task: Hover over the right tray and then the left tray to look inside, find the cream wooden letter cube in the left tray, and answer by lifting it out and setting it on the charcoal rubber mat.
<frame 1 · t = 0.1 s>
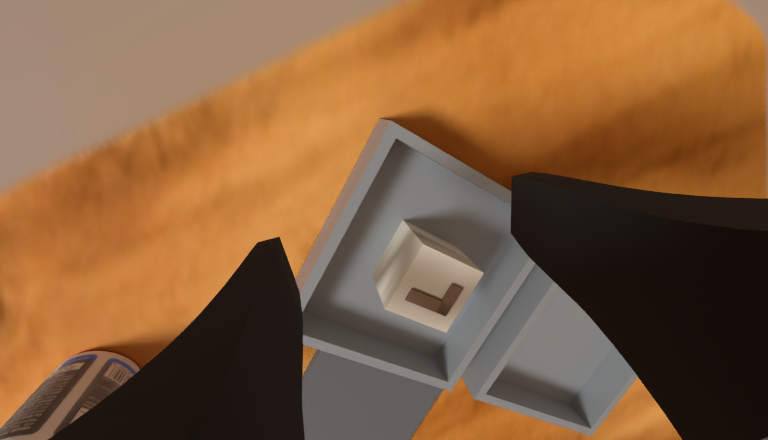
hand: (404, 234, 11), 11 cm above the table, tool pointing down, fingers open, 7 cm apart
tray 2: (411, 255, 23), on the table
letter cube: (413, 259, 22), point 1 cm above the table, touching tray 2
tray 1: (560, 323, 27), on the table
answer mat: (355, 411, 26), on the table
pill bottle: (104, 378, 21), on the table
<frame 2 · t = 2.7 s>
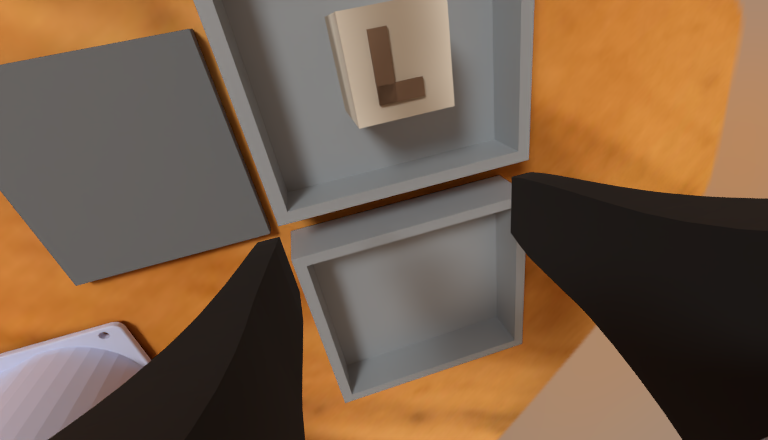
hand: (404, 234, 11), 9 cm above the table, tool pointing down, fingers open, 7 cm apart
tray 2: (374, 56, 17), on the table
letter cube: (377, 57, 16), point 1 cm above the table, touching tray 2
tray 1: (412, 279, 24), on the table
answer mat: (131, 167, 17), on the table
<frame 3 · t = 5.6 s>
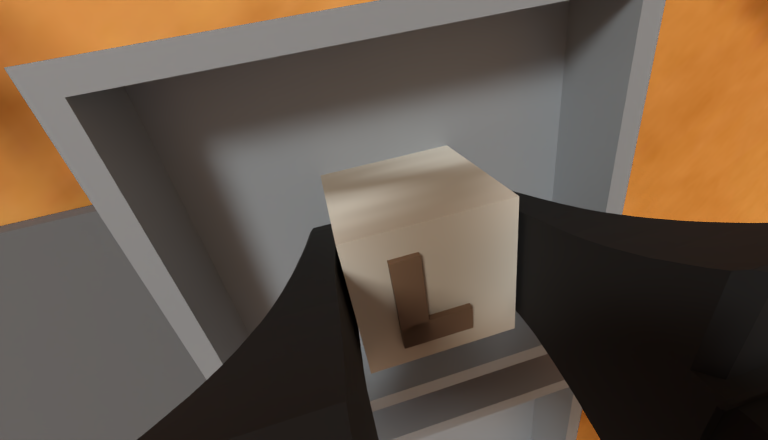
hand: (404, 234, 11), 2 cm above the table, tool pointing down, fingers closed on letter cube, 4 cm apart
tray 2: (390, 208, 12), on the table
letter cube: (394, 216, 12), point 1 cm above the table, touching gripper, tray 2
tray 1: (428, 432, 19), on the table
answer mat: (46, 365, 12), on the table
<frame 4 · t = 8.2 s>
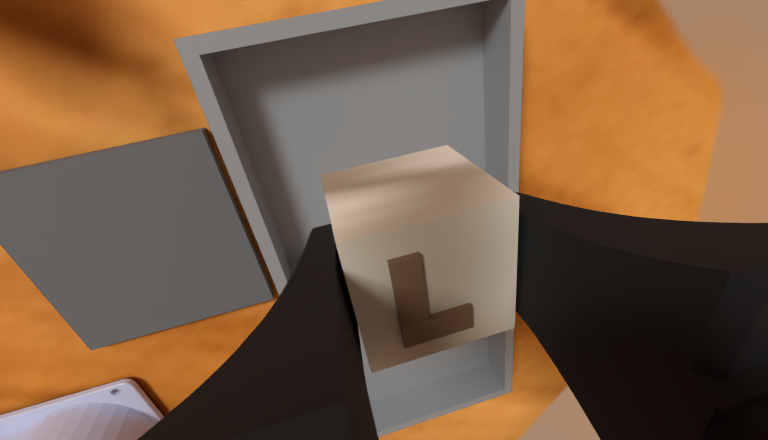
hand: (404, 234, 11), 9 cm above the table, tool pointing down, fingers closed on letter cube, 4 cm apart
tray 2: (373, 143, 18), on the table
letter cube: (394, 216, 12), point 8 cm above the table, touching gripper
tray 1: (407, 331, 25), on the table
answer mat: (144, 246, 18), on the table
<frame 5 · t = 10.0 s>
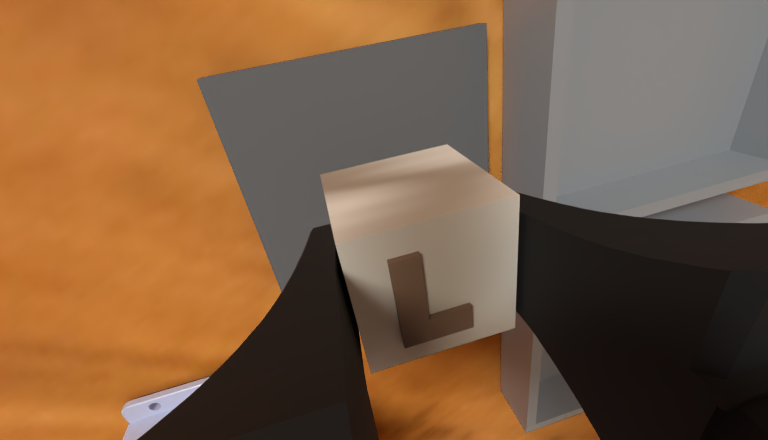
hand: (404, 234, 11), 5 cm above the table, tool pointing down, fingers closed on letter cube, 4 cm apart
tray 2: (640, 57, 15), on the table
letter cube: (394, 215, 12), point 4 cm above the table, touching gripper
tray 1: (596, 299, 22), on the table
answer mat: (371, 179, 15), on the table
when the fingers open (3 cm above the table, at t = 11.2 s): letter cube drops 1 cm, resting on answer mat.
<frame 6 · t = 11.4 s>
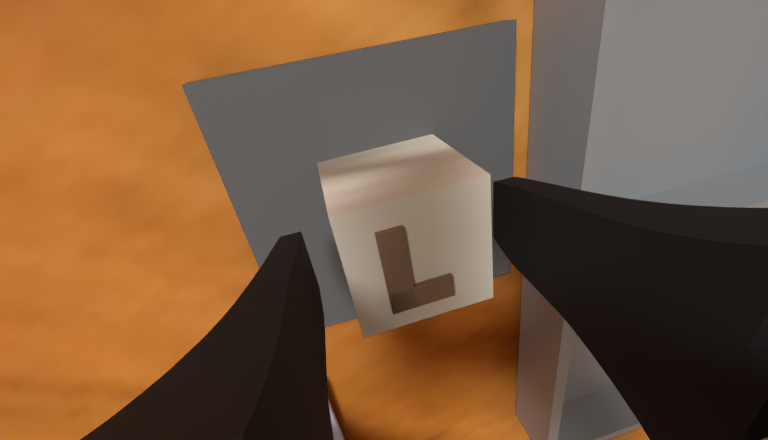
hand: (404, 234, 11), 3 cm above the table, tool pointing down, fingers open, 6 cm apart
tray 2: (683, 58, 14), on the table
letter cube: (386, 200, 13), point 1 cm above the table, touching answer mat
tray 1: (620, 318, 20), on the table
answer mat: (382, 195, 13), on the table
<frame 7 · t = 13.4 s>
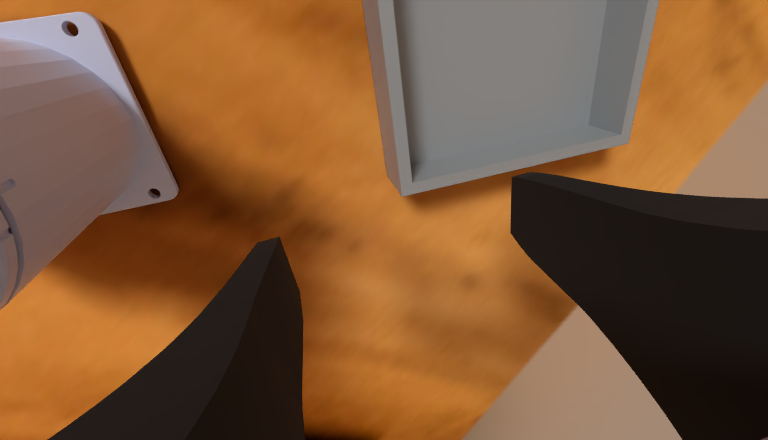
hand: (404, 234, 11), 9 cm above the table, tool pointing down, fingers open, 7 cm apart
tray 1: (493, 39, 18), on the table
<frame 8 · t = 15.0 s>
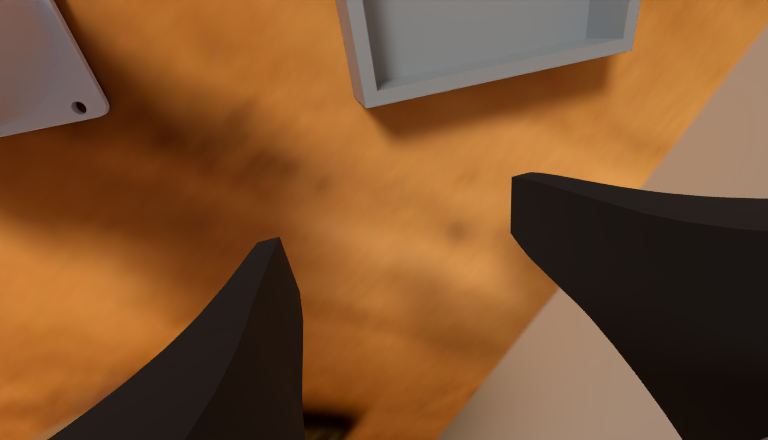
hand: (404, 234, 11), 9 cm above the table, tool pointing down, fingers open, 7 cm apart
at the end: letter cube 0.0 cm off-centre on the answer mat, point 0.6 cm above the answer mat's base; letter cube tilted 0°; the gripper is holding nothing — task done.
